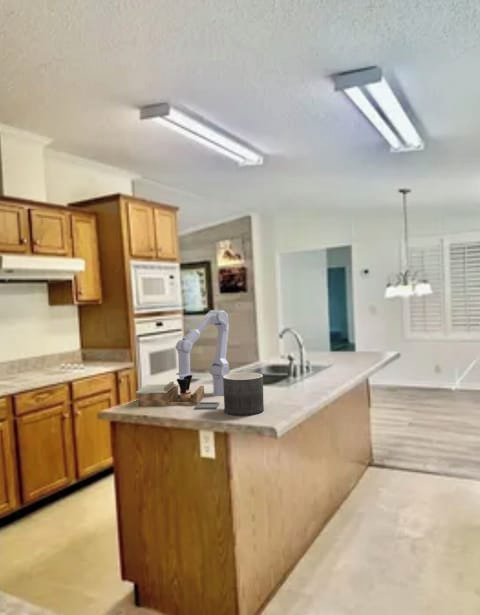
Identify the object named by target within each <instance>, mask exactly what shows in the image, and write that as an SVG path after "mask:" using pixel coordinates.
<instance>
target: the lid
mask: <svg viewBox="0 0 480 615" xmlns="http://www.w3.org/2000/svg"><path fill="white" fill-rule="evenodd" d="M176 384H177V383H176ZM176 384H175V381H170V382H169V383H165V384H157V383H156V384H146V385H144V386H143V387H141V388H140V389H138V390H137V391H135V394H139V393H167V392H168V391H170V390H171V389H172V388H173V387H175V386H177V385H176Z"/></svg>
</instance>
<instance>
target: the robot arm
mask: <svg viewBox="0 0 480 615" xmlns="http://www.w3.org/2000/svg"><path fill="white" fill-rule="evenodd" d="M212 324H213V325H214V326H215V327H216V328H217V329H218V330H217V337H216V338H217V339H216V350H215V358H214V359H213V360H212V362H211V365H210V368H209V373H210V375H211V376H212V387H213V390H212V391H213V393H212V394H211V396H218V397H219V396H220V397H221V396H223V397H224V386H223V376H225V375H228V374H230V366H229V365H230V364H229V362H228V360H227V351H228V342H229V330H230V324H229V314H228V313H227V312H226V311H225V310H213V309H210V310H209V311H208V312H207V313H206V314H205V317H203V319H202V320H201V321H200V322H199V324H198V325H197V326H196V327H195V328H191V329H189V330H188V333H186V335H185V336H183V337H182V339H179V340H177V342H176V345H175V350H176V351H177V355H178V356H177V361H178V372H177V373H176V376H178V377H179V378H177V379H176V382H177V384H178V388H179V392H180V391H181V393H186V390H190V388H191V387H190V386H191V381H192V379H193V375H192V373H191V351H192V349H193V345H194V344H195V343H196V342H197V341H198V340H199V339H200V337H201V333H203V332H204V331H205V330H206V329H207V328H208V327H209V326H210V325H212Z"/></svg>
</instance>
